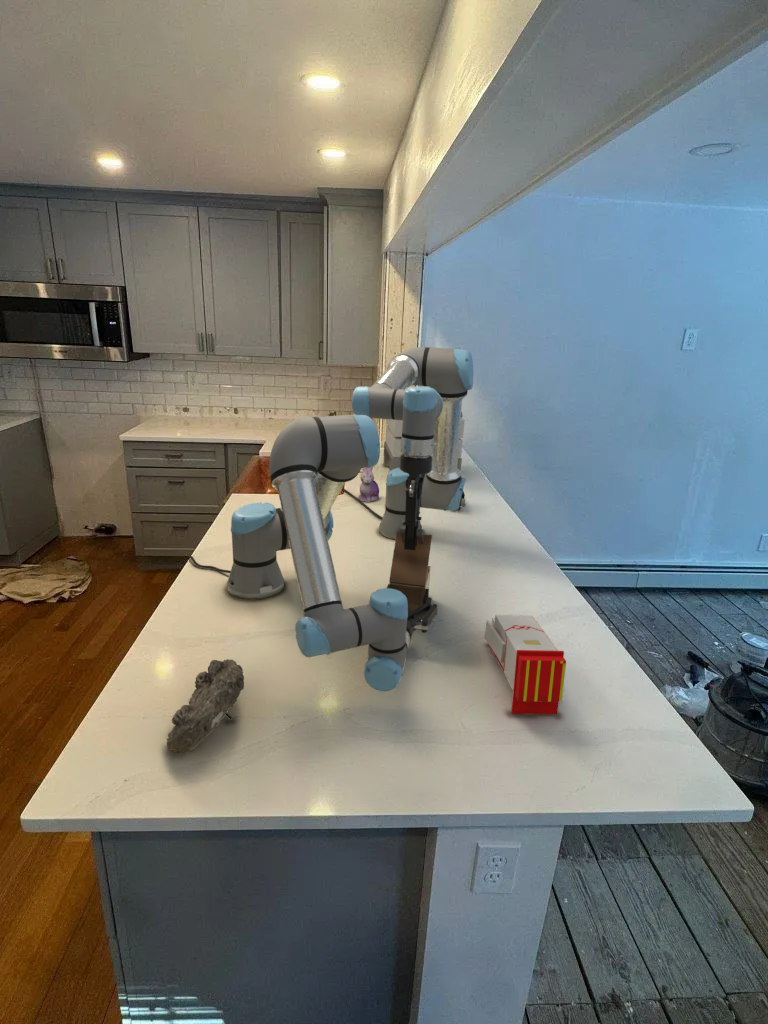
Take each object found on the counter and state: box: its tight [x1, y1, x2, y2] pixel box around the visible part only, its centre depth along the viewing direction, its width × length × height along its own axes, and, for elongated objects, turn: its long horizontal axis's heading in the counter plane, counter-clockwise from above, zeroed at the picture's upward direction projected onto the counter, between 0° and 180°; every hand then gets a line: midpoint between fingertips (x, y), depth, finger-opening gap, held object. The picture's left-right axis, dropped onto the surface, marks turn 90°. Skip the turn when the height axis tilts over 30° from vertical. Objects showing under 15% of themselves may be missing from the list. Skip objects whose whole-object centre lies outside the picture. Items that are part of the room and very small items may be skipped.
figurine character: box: [457, 490, 466, 511], centre depth 229 cm, size 7×8×15 cm
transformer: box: [383, 411, 465, 472], centre depth 268 cm, size 34×33×41 cm
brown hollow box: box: [388, 565, 432, 622], centre depth 150 cm, size 13×9×10 cm
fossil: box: [166, 658, 245, 754], centre depth 106 cm, size 22×10×15 cm
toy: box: [484, 614, 567, 716], centre depth 124 cm, size 12×13×30 cm
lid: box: [388, 527, 433, 587], centre depth 141 cm, size 14×9×9 cm
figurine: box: [358, 467, 380, 503], centre depth 232 cm, size 9×10×15 cm
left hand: (408, 591), depth 146 cm, fingers closed on brown hollow box, 9 cm apart
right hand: (410, 547), depth 141 cm, fingers closed on lid, 2 cm apart
